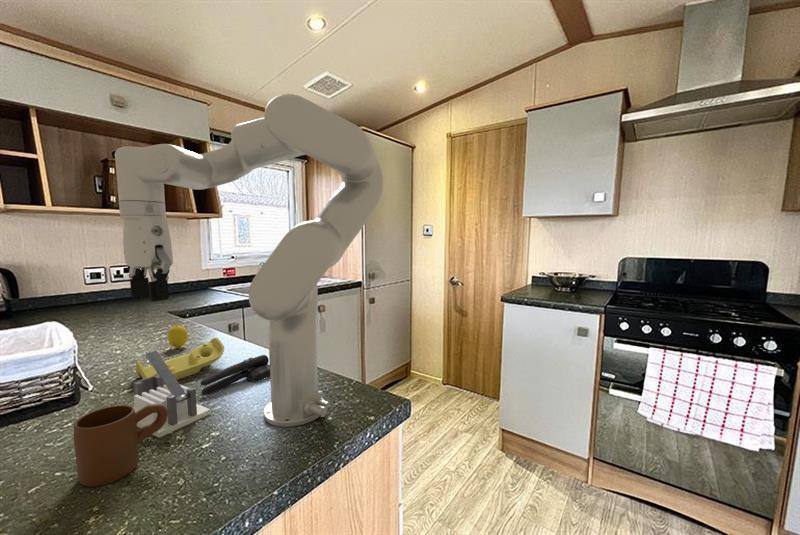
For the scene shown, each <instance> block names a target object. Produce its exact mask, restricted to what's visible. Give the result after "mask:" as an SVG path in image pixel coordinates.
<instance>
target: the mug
mask: <svg viewBox="0 0 800 535" xmlns="http://www.w3.org/2000/svg"><path fill="white" fill-rule="evenodd" d="M152 413H157V418H156V420H155V421H154V422H153V423H151V424H149V425H146V426H144V427H142V428H139V429H138V426H137V423H138V422H139V421H141V420H142V419H144V418H145V417H147V416H149V415H150V414H152ZM167 416H168V411H167V409H166V407H165V406H163V405H161V404H150V405H147V406H145V407H144V408H142V409H141V410H139V411H137V412H135V410H134V407H133V406H131V405H129V404H118V405H111V406H107V407H103V408H100V409H96V410H94V411H91V412H89V413H86V414H84V415H83V416H81V417H79V418H77V419H76V421H75V422H74V424H73V444H74V446H73V447H74V454H75V455H74V456H75V464H76V471H77V480H78V481H79V484H81V485H82V486H84V487H91V488H92V487H93V488H94V487H101V486H105V485H109V484H112V483H115V482H116V481H117V482H118V481H119V480H121V479H122V478H125V477H126V476H127V475H129V474H130V473H131V472H132V471H134V470H135V469H136V467H137V466H138V464H139V460H140V451H139V445H140V443H142V441H144V440H145V439H146V438H147V437H149V436H150V435H152V434H153V433H155V432H156V431H158V430H159V429H160V428H161V427H162V426H163V425H164V424H165V422H166V420H167Z"/></svg>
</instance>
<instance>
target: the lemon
mask: <svg viewBox="0 0 800 535" xmlns="http://www.w3.org/2000/svg"><path fill="white" fill-rule="evenodd" d="M188 336H189V335H188V331H187V329H186V328H185V327H184V326H182V325H179V324H175V325H174V326H173V327H171V328H170V329H169V331H168V334H167V340H168V343H169V344H170V346H172V347H174V348H176V349H180V348H181V347H182V346H184V345H185V344H186V343H187V341H188Z"/></svg>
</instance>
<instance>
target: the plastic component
mask: <svg viewBox="0 0 800 535" xmlns="http://www.w3.org/2000/svg"><path fill="white" fill-rule="evenodd" d="M224 352H225V345H224V344H223V343H222V341H221V340H220V339H219V337H213V338H212V339H211V340H210V341H209V342H208V343H204V344H202V345H199V346H196V347H195V348H193V349H192V350H191V352H190V353H187V354H184V355H183V354H182V355H181V356H178V357H174V358H171V359H168V360H163V361H164V362H165V364H166V365H167V367H168V368H169V370H170V371H171V372H172V374H173V375H174V377H175V378H176V380H177V381H178V380H181V379H184V378H186V377H191V376H193V375H195V374H197V373H200V371H201V369H202V368H207V367H211V365H212V364H213V363H215V362H217V361H218V360H219V359H221V357H222V356H223V355H224ZM135 362H136V363H135V374H136V375H137V376H138V377H139V378H142V379H145V378H148V377H151V376H155V375H158V373H157V372H156V370H155V369H154V367H153V366H152V364H151V365H149V366H144V365H143V363H142V362H141V360H140V359H139V360H136V361H135ZM163 385H165V384H164V382H163Z"/></svg>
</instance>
